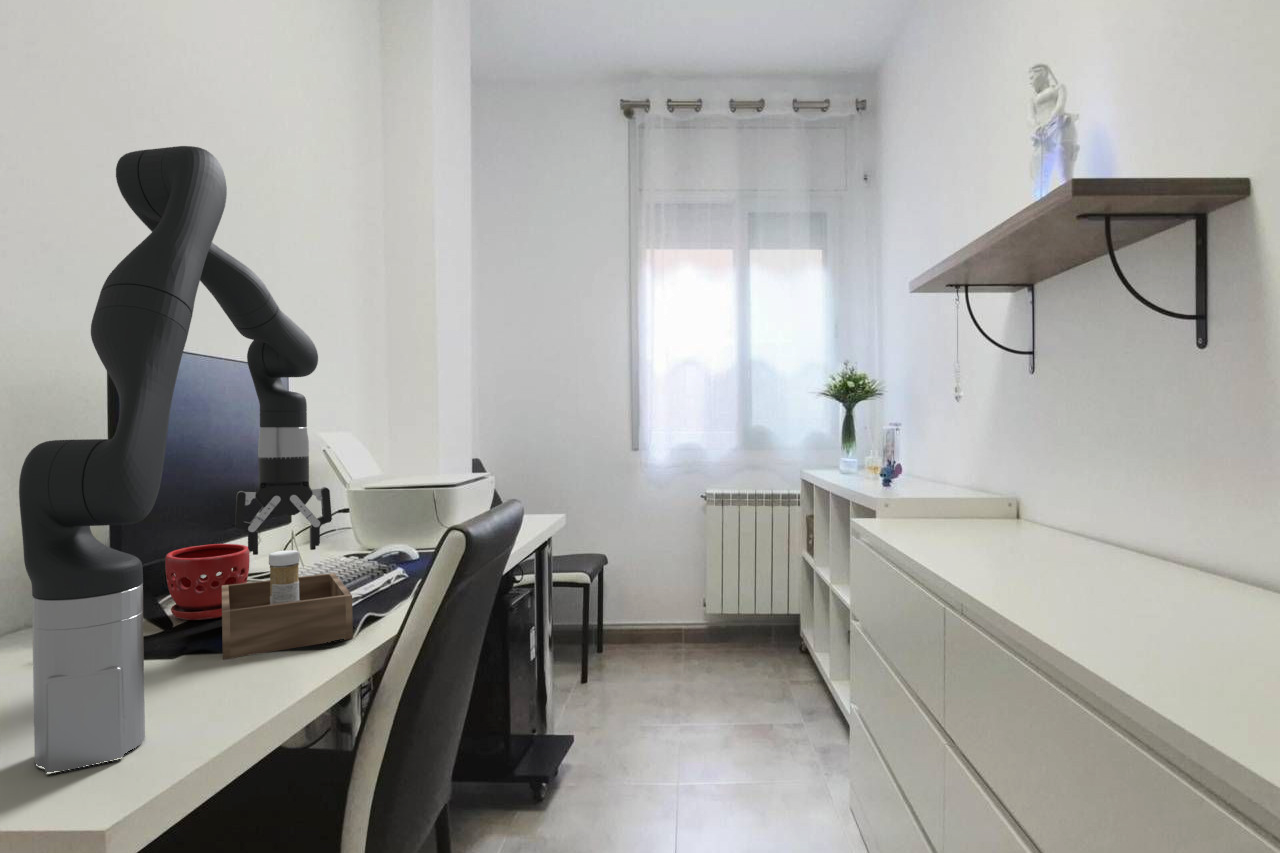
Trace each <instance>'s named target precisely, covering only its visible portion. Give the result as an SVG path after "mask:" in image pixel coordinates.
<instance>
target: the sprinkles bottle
mask: <svg viewBox="0 0 1280 853" xmlns="http://www.w3.org/2000/svg"><path fill="white" fill-rule="evenodd" d="M300 562H301V561H300V552H299V550H296V549H295V550H294V549H291V550H290V549H288V550H287V549H286V550H279V551H273V552H271V553H269V554H268V565H269V569H270V570H269V580H270V604H278V603H286V602H293V601H299V577H300V574H299V566H300Z"/></svg>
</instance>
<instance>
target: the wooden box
mask: <svg viewBox="0 0 1280 853" xmlns="http://www.w3.org/2000/svg"><path fill="white" fill-rule="evenodd" d="M299 600H301V601H293V602H286V603H278V604H270V579H269V580H267V579H266V580H258V581H252V582H251V581H250V582H249V581H248V582H247V583H240V584H231V585H222V617H221V627H222V628H221V629H222V630H221V631H222V633H221V634H222V635H221V637H222V640H221V643H222V660H228V659H234V658H238V657H246V656H253V655H258V654H265V653H271V652H277V651H283V650H290V649H295V648H301V647H307V646H314V645H320V644H321V645H322V644H327V642H328V643H332V642H331V641H334V640H339V639H344V640H343V641H346V640H351V639H353V638H354V636H353V634H354V633H353V632H354V630H353V628H354V627H353V621H354V620H353V595H352V593H351V592H350V590H349V589H348V587H347V586H345V584H344V583H343V581H341V579H340V578H339V577H338V575H337V574H336V573H335V572H330V573H322V574H313V575H303V576H299ZM334 642H335V641H334Z"/></svg>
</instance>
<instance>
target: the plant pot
mask: <svg viewBox="0 0 1280 853" xmlns="http://www.w3.org/2000/svg"><path fill="white" fill-rule="evenodd" d="M164 561H165V577H166V584H167V589H168V591H169V595H170V597H171V599H172V600H173V602H174V603H175V604H174V605H172V607H170V612H171V614H172V616H174V617H176V618H178V619H181V620H186V621H204V620H213V619H218V618H222V585H231V584H240V583H248V579H249V578H248V576H249V571H250V551H249V549H248V545H244V544H237V543H236V544H235V543H213V544H204V545H203V544H202V545H193V546H188V547H183V548H179V549H175V550H172V551H169V552H168V553H167V554H166V555H165V560H164ZM218 573H220V574H219V575H217V574H218ZM202 576H205V577H202Z"/></svg>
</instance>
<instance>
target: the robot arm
mask: <svg viewBox="0 0 1280 853" xmlns="http://www.w3.org/2000/svg"><path fill="white" fill-rule="evenodd" d="M224 172H225V171H224V169H223V167H222V164H221V163H220V162H219V160H218V159H217V158H216V157H215V156H214V154H212V153H211V152H209V150H207V149H205V148H202V147H199V146H190V145H178V146H177V145H176V146H169V147H159V148H152V149H151V148H150V149H148V148H147V149H142V150H141V149H140V150H135V151H130V152H128V153H127V152H126V153H125V154H123V155H122V156H121V157H120V158H119V159H118V160H117V163H116V167H115V178H116V179H115V180H116V183H117V186H118V190H119V192H120V194H121V196H122V198H123V200H124V201H125V202H126V204H127V205H128V207H129V208H130V209H131V211H133V213H134V214H135V216H136V217H137V218H138V219H139V220H140V221H141V222H142V223H143V225H145V226H146V227H147V229H149V230H150V233H149V235H148V236H147V237H145V238H144V239H143V240H142V241H141V242H140V243H139V244H138V245H137V246H136V247H134V248H133V249H132V250H131V251H130V252H129V253H128V254H127V255H126V256H125V257H124V258H123V259H122V260H121V261H120V262H119V263H118V264H117V265H116V266H115V267H114V268H113V269H112V270H111V272H110V273H109V275H108V276H107V277H106V279H105V281H104V283H103V285H102V287H101V290H100V292H99V297H98V300H97V302H96V305H95V309H94V313H93V316H92V320H91V323H90V338H91V342H92V345H93V347H94V349H95V351H96V353H97V355H98V358H99V359H100V361H101V363H102V365H103V366H104V368H105V370H106V372H107V374H108V376H109V377H110V379H111V381H112V382H113V384H114V387H115V389H116V391H117V395H118V397H119V417H118V422H117V426H116V430H115V432H114V435H113V436H112V438H111V439H110V438H109V439H108V438H107V439H106V438H103V439H102V438H99V439H97V438H96V439H95V438H93V439H87V438H86V439H54V440H48V441H47V440H46V441H43V442H41V443H38V444H37V445H36V446H35V447H33V448H32V449H31V450H29V452H28V454H27V455H26V457H25V459H24V461H23V464H22V466H21V471H20V476H19V485H18V500H19V513H20V515H19V516H20V522H21V523H20V524H21V534H22V546H23V547H22V548H23V562H24V566H25V567H24V568H25V571H26V573H27V576H28V578H29V580H30V582H31V592H32V593H31V595H32V598H31V599H32V601H31V602H32V603H31V604H32V606H31V607H32V608H31V609H32V675H33V676H32V681H33V682H32V683H33V684H32V686H33V687H32V688H33V730H34V731H33V734H34V740H33V742H34V744H33V745H34V764H35V763H36V764H37V765H38V766H42V767H44V768H45V770H44V772H46V773H47V772H54V771H63V770H68V769H74V768H78V767H83V766H86V765H92V764H96V763H100V762H104V761H110V760H114V759H117V758H121V757H123V756H125V755H126V754H125V753H126V752H128V751H130V750H132V749H133V750H135V749H137V748H138V747H139V746H141V745H142V743H143V742H144V741H145V738H146V720H145V719H146V715H145V714H146V712H145V711H146V710H145V708H146V706H145V656H144V655H145V653H144V651H145V649H144V589H143V588H144V586H143V585H144V577H143V576H144V573H143V572H144V571H143V563H142V560H140V559H139V557H137V556H135V555H133V554H131V553H127V552H123V551H120V550H118V549H114V548H113V547H110V546H108V545H106V544H104V543H103V542H101V541H100V540H98V539H97V538H96V537H95V536H94V534H93V533H92V530H91V527H100V526H101V527H103V526H121V525H122V526H125V525H133V524H136V523H139V522H141V521H143V520H144V519H146V518H147V517H148V515H149V514H150V513H151V511H152V509H153V508H154V506H155V504H156V500H157V498H158V495H159V492H160V488H161V483H162V477H163V471H164V465H165V464H164V462H165V454H166V449H167V448H166V446H167V439H168V438H167V437H168V431H169V430H168V429H169V422H170V421H169V420H170V414H171V413H170V412H171V408H172V403H173V402H172V400H173V397H174V391H175V388H176V387H175V386H176V381H177V379H178V378H177V377H178V373H179V369H180V364H181V361H182V357H183V353H184V350H185V347H186V342H187V339H188V336H189V332H190V328H191V327H190V326H191V322H192V318H193V313H194V308H195V302H196V296H197V292H198V288H199V285H200V282H201V284H202V285H203V286H204V288H206V290H208V291H209V293H210V294H211V295H212V296H213V298H214V300H216V303H218V305H219V306H220V308H221V310H222V311H223V312H224V313H225V315H226V316H227V317H228V319H229V321H230V322H231V323H232V325H233V326H234V328H235V329H236V330H237V332H238V333H239V335H241V336H242V337H244V338H246V339H248V340H252V341H251V343H250V344H249V346H248V350H247V355H246V359H247V366H248V370H249V372H250V376H251V378H252V381H253V385H254V389H255V393H256V396H257V399H258V403H259V432H258V433H259V435H258V442H257V446H258V447H257V454H258V455H257V456H258V459H257V460H258V463H257V464H258V465H257V466H258V474H257V475H258V486H257V490H256V491H254V492H252V491H243V490H239V491H238V492H236V493H237V494H236V502H235V503H236V504H235V515H234V516H235V519H234V525H235V526H234V527H235V528H236V529H237V530H242V531H246V533H247V547H248V549H249V553H250V552H252V556H257V555H259V532H258V528H259V527H260V526H261V525H262V523H263V522H265V520H266V519H267V518H268V517H269V515H270V516H273V517H280V516H284V515H285V516H286V515H287V516H296V515H297V514H299V513H301V514H302V516H303V517H304V518H305V519H306V520H307V521H308V522H309V524H310V526H309V550H311V551H314V550H316V548H317V547H319V546H320V542H321V527H322V526H323V525H326V524H329V523H331V522H332V521H333V516H332V506H331V505H332V503H331V502H332V501H331V493H330V492H331V490H330V489H329V488H328V487H325V486H323V487H321V488H313V489H312V488H311V485H310V454H309V453H310V441H309V435H308V428H307V426H308V422H307V421H308V415H307V414H308V413H307V412H308V406H307V399H306V396H304V395H303V394H302V393H300V392H295V391H291V390H290V391H289V390H287V389H286V388H285V386H284V384H283V382H282V380H281V379H282V378H283V379H284V378H303V377H308V376H309V375H312V373H314V372H315V371H316V369H317V366H318V364H319V355H318V354H319V353H318V350H317V347H316V345H315V343H314V341H313V340H312V339H311V337H310V336H309V335H308V334H307V333H306V332H305V330H303V329H302V328H301V327H300V326H299V325H298V324H296V322H294V321H293V320H292V319H291V318H290V317H289V316H288V315H286V314H285V313H284V312H283V311H282V310H281V309H280V307H279V305H278V303H277V302H276V300H275V299H274V297H273V296H272V294H271V292H270V290H269V289H268V288H267V286H266V284H265V283H264V282H263V281H262V279H261V278H260V277H259V276H258V275H257V274H256V273H255V272H254V271H253V270H252V269H251V268H249V267H248V266H247V265H246V264H244V263H243V262H242V261H240V260H238V259H237V258H235V257H234V256H233V255H231V254H229V253H227V251H225V250H224V249H222V248H220V247H219V246H218V245H216V244H215V243H213V240H214V238H215V236H216V232H217V231H218V227H219V226H220V222H221V220H222V217H223V214H224V211H225V208H226V202H227V195H228V194H227V193H228V192H227V191H228V190H227V187H228V186H227V179H226V176H225V173H224ZM312 496H315V499H316V501H319V502H320V504H321V516H319V517H316V516H315V514H314V513H313V512H312V511H311V510H310V509H309V508H308V507H307V503H308V502H309V501H310V499H311V498H312ZM253 499H254V500H256V501H257V502H258V504H260V505H261V509H259V511H258V512H257V513H256V515H255V516H254V517H253V519H252V520H251V521H245V514H246V512H245V511H246V506H249V505H251V503H252V501H253ZM138 745H139V746H138ZM137 746H138V747H137ZM136 747H137V748H136ZM134 748H135V749H134ZM133 750H132V751H133ZM130 752H131V751H130ZM128 753H129V752H128ZM124 754H125V755H124ZM123 758H124V757H123ZM83 768H84V767H83ZM74 770H75V769H74Z"/></svg>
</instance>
